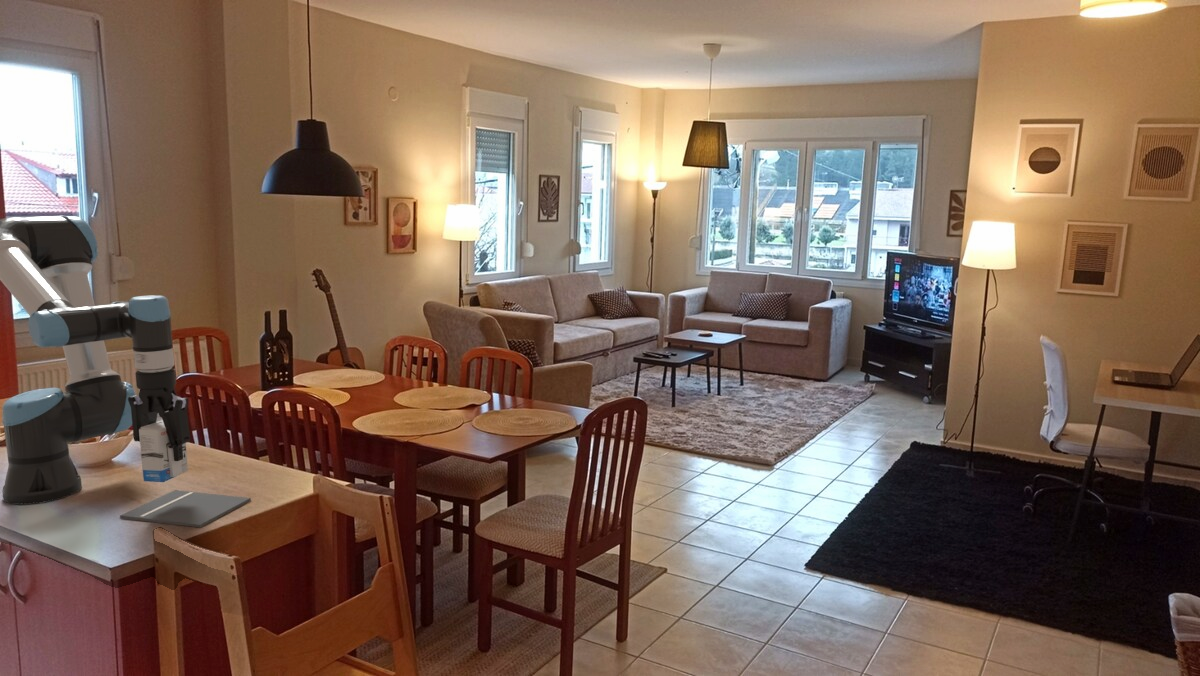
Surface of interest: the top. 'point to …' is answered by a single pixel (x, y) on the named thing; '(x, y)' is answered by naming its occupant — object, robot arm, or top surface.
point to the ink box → (157, 453)
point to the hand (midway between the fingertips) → (165, 473)
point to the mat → (186, 508)
